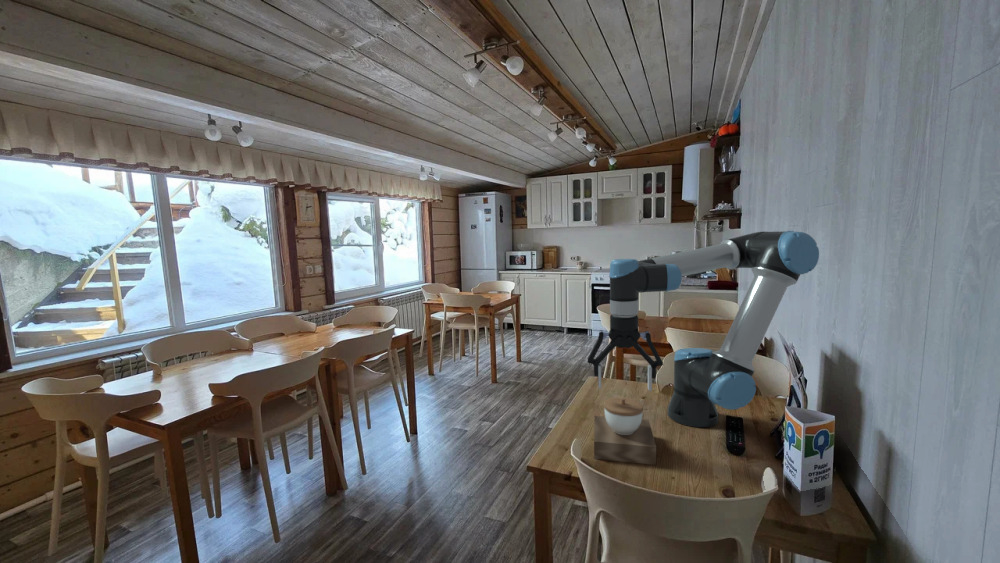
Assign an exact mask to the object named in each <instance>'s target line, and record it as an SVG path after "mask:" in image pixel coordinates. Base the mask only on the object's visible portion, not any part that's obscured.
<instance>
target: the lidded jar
mask: <svg viewBox="0 0 1000 563" xmlns="http://www.w3.org/2000/svg"><path fill="white" fill-rule="evenodd" d="M603 407H604V408H603V409H604V410H603V411H604V412H603V413H604V417H605V418H606V422H607V424H608V425H609V426H610V428H611V429H612V430H613V431H614V432H615V433H617V434H620V435H631V434H633V433H634V431H636V430H637V429H638V428H639V426H640V424H641V421H642V419H643V412H644V405H643V404H642V403H641V402H640V401H638V400H637V399H633V398H630V397H624V396H615V397H610V398H607V399H606V400H604V403H603Z"/></svg>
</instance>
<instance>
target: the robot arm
mask: <svg viewBox="0 0 1000 563" xmlns="http://www.w3.org/2000/svg"><path fill="white" fill-rule="evenodd" d="M817 244H818V243H817V242H816V240H815V238H813V237H812V236H811V235H810V234H808V233H807V232H803V231H794V230H786V231H785V230H783V231H755V232H752V233H748V234H743V235H740V236H735V237H733V238H728V239H724V240H722V241H721V242H720V243H718V244H715V245H710V246H706V247H700V248H694V249H689V250H685V251H681V252H676V253H671V254H667V255H666V254H665V255H662V256H657V257H652V258H647V259H646V258H645V259H643V260H642V259H641V260H638V259H636V258H618V259H617V258H615V259H613V260H611V261H610V265H609V276H608V277H609V313H610V314H611V315H609V322H610V323H609V328H610V329H609V331H604V330H601V329H600V330H599V332H598V337H597V339H596V342H595V344H594V346H593V347H592V349H591V351H590V354H589V355H588V357H587V363H588V364H592V365H593V373H594V374H593V375H594V377H597V380H598V389H602V363H601V362H602V361H603V360H604V359H605V358H606V357H607V356H608V355H609V354H610V353H611V352H612V350H614V349H615V347H617V348H618V349H623V348H625V349H631V348H633V347H634V350H636V351H637V352H638V353H639V354H640V356H642V358H643V359H644V360H645V361H646V362H647V364H648V365H647V389H648V391H649V392H652V391H653V387H652V386H653V384H652V383H653V380H652V379H656V376H657V367H659V366H660V367H661V366H664V362H663V360H662V357H660V354H659V353H658V351H657V349H656V347H655V346H654V343H653V341H652V339H651V338H652V336H651V332H650V331H648V330H645V331H643V332H640V331H639V316H638V314H639V293H640V294H641V293H653V292H654V293H655V292H666V293H667V292H670V291H676V290H678V289H679V288H680V286H681V285H682V277H687V276H692V275H695V274H699V273H700V274H701V273H705V272H710V271H714V270H720V269H724V268H726V269H727V270H734V269H751V271H752V274H753V276H754V277H753V279H752V281H751V283H750V285H749V287H748V288H747V291H746V294H745V295H744V298H743V300H742V301H741V304H740V306H739V308H738V311H737V313H736V315H735V317H734V319H733V321H732V324H731V326H730V327H729V330H728V332H727V334H726V336H725V338H724V341H723V342H722V344H721V347H720V349H717V350H714V351H713V350H712V349H709V348H702V347H683V348H679V349H677V350H676V351H675V353H674V359H673V361H674V363H673V364H674V366H673V367H674V368H673V370H674V372H673V393H672V396H671V398H670V400H669V404H668V405H667V416H668V417H669V418H670V419H671V420H672V421H673V422H676V423H678V424H681V425H684V426H688V427H693V428H709V427H710V428H711V427H714V426H716V425H717V424H718V422H719V413H718V412H719V411H718V409H717V407H716V405H717V406H719V407H721V408H723V409H725V410H732V411H733V410H738V409H740V408H744V407H746V406H747V405H749V404H750V403H751V402H752V400H753V399H754V397H755V394H756V391H757V386H756V382H755V379H754V378H753V376H754V373H755V368H754V365H753V360H754V359H755V356H756V354H757V352H758V350H759V349H760V346H761V344H762V342H763V340H764V338H765V335H766V333H767V331H768V328H769V327H770V325H771V323H772V320H773V318H774V316H775V314H776V312H777V310H778V308H779V306H780V304H781V301H782V299H783V297H784V295H785V293H786V292H787V289H788V287H790V286H793V285H795V284H797V283H798V281H799V278H800V276H801V275H805V274H808V273H809V272H812V271H813V270H815V268H816V267H817V265H818V262H819V258H820V251H819V250H820V248H819V247H818V245H817ZM607 337H609V339H610V342H609V343H608V344H607V346H606V347H605V348H604V349H603V350H602V351H601V352H600V353H599V354H598V355H597V353H598V351H599V349H600V347H601V345H602V344H603V342H604V340H606V339H607ZM640 338H642V340H644V341H646V344H647V346H648V347H649V350H650V352H651V353H652V354H653V357H654V359H655V360H654V359H653V358H652V357H651V356H650V355H649V354H648V353H647V352H646V351H645V349H644V348H643V347H642V346H641V345H640V344H639V342H638V341H639V339H640ZM596 355H597V356H596ZM595 357H596V358H595Z"/></svg>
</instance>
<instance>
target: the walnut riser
mask: <svg viewBox="0 0 1000 563" xmlns="http://www.w3.org/2000/svg"><path fill="white" fill-rule="evenodd" d="M593 420H594V425H593V426H594V430H593V431H594V433H593V434H594V435H593V459H595V460H605V461H616V462H625V463H633V464H634V463H635V464H643V465H645V464H646V465H655V466H656V465H657V445H656V442H655V437H654V434H653V431H652V427H651V422H650V420H649V419H643V418H642V421H641V424H640V426H639V428H638V429H637V430H636V431H634V433H633V434H631V435H620V434H617V433H615V432H614V431H613V430H612V429H611V428H610V426H609V425H608V424H607V422H606V418H605V415H604V416H601V415H599V416H598V415H594V419H593Z"/></svg>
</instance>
